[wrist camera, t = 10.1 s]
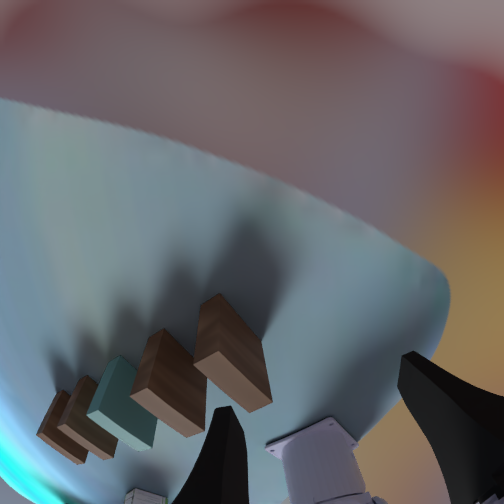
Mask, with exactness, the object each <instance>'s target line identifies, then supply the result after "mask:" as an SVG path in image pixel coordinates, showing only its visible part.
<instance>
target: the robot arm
mask: <svg viewBox="0 0 504 504" xmlns="http://www.w3.org/2000/svg"><path fill="white" fill-rule="evenodd" d="M397 387H398V389H399V391H400V394H401V396H402V398H403V400H404V402H405V404H406V406H407V408H408V409H409V411H410V412H411V414H412V416H413V417H414V419H415V420H416V421H417V423H418V425H419V427H420V428H421V430H422V431H423V433H424V435H425V436H426V438H427V439H428V441H429V443H430V445H431V447H432V449H433V451H434V453H435V456H436V458H437V460H438V463H439V465H440V468H441V471H442V474H443V476H444V479H445V483H446V486H447V489H448V493H449V497H450V501H451V504H476V503H477V502H479V503H480V504H504V397H503V396H499V395H496V394H493V393H490V392H488V391H485V390H483V389H480V388H477V387H475V386H473V385H471V384H469V383H467V382H465V381H463V380H461V379H459V378H458V377H456V376H454V375H452V374H451V373H449V372H447V371H445V370H444V369H442V368H440V367H439V366H437V365H436V364H434V363H432V362H431V361H429V360H428V359H426V358H425V357H423V356H422V355H420V354H418V353H417V352H415V351H411V352H409V353H407V354H404V355H402V358H401V365H400V372H399V378H398V385H397ZM358 446H359V444H358V443H357V442H356V441H355V440H354V439H353V438H352V437H351V436H350V435H349V434H348V433H347V432H346V431H345V430H344V429H343V427H342V426H341V425H340V424H339V423H338V422H337V421H336V420H335V419H334V418H332V417H328V418H326V419H324V420H322V421H320V422H318V423H316V424H314V425H312V426H310V427H308V428H306V429H304V430H301V431H299V432H297V433H295V434H292V435H290V436H288V437H286V438H283V439H281V440H278V441H276V442H274V443H271V444H269V445H266V446H265V450H266V451H267V452H269V453H271V454H272V455H274V456H276V457H277V458H279V459H281V460H282V462H283V467H284V473H285V478H286V483H287V488H288V493H289V498H290V503H291V504H388V503H387V502H386V501H385V500H384V499H382V498H379V497H377V496H375V497H372V498H371V495H370V493H369V492H366V493H365V482H364V480H363V477H362V474H361V472H360V469H359V467H358V464H357V461H356V459H355V456H354V454H353V451H352V450H354V449H356V448H357V447H358ZM172 504H249V494H248V462H247V448H246V442H245V435H244V431H243V429H242V427H241V425H240V423H239V421H238V419H237V417H236V415H235V413H234V411H233V409H232V407H231V406H226V407H219V408H216V409H215V410H214V414H213V418H212V421H211V424H210V427H209V430H208V433H207V436H206V439H205V442H204V444H203V447H202V449H201V452H200V454H199V457H198V459H197V461H196V463H195V465H194V467H193V469H192V471H191V473H190V475H189V477H188V479H187V481H186V483H185V484H184V486H183V488H182V489H181V491H180V492H179V494H178V495H177V497H176V498H175V500H174V501H173V503H172Z"/></svg>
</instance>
